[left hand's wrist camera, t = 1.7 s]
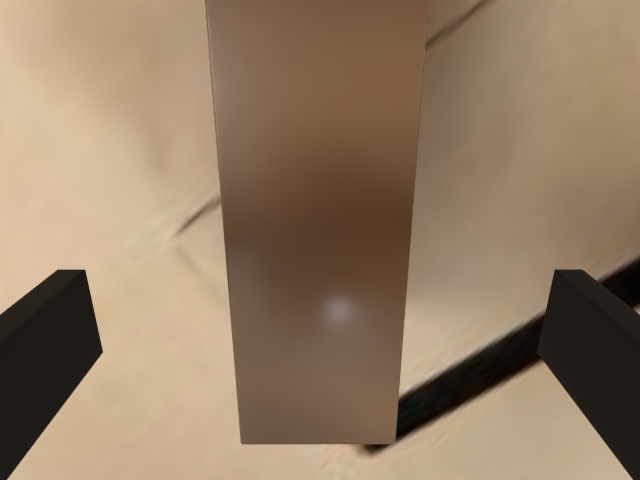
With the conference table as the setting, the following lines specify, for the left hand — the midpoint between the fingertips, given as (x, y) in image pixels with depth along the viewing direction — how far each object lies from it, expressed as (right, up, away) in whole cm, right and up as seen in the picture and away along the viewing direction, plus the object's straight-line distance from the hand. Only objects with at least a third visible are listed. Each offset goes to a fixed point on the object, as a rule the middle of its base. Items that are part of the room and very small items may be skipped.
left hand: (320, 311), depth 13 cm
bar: (0, +10, +4) cm, 11 cm away
